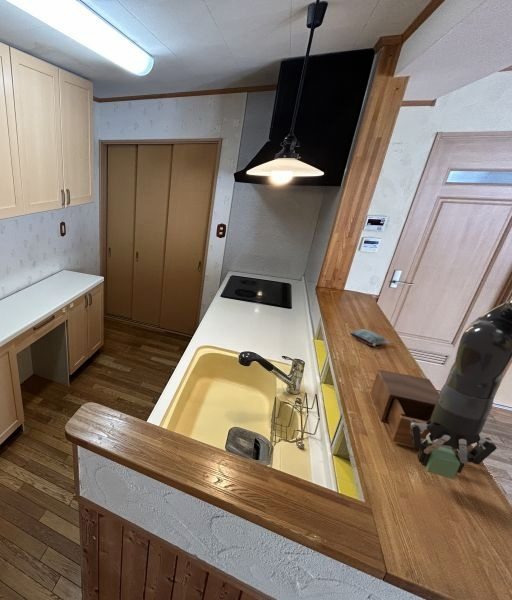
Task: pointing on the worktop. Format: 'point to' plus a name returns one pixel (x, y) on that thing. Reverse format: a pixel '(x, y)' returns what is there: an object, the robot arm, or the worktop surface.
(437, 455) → the block
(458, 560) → the worktop surface
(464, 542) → the worktop surface
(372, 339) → the packaged food
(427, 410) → the drawer
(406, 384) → the cabinet
